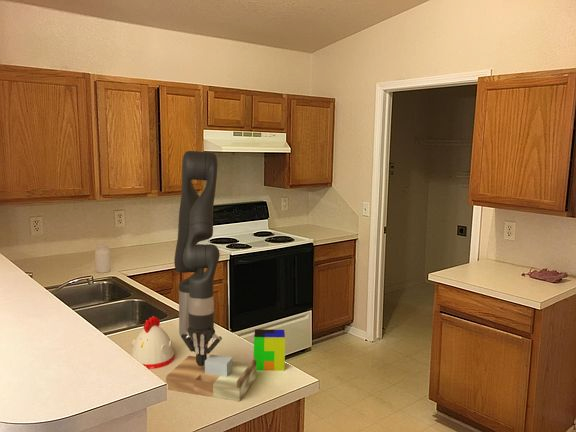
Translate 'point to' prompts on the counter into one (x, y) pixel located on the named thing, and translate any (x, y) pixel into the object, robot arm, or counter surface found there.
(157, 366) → the kitchen timer
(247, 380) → the board
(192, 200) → the robot arm
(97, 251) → the pill bottle
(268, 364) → the puzzle toy
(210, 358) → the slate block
